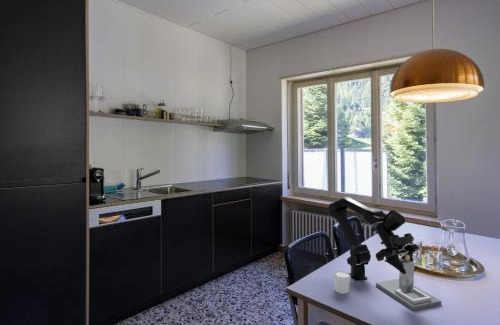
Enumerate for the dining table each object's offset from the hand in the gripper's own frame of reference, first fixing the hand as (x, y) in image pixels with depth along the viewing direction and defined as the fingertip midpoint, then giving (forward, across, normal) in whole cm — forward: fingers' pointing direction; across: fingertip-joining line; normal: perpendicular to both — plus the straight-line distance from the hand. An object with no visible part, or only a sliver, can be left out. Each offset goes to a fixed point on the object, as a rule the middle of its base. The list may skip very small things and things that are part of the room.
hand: (409, 272), depth 111 cm
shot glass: (-4, -16, +24) cm, 29 cm away
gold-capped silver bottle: (+4, 0, +6) cm, 7 cm away
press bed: (+5, +7, +14) cm, 16 cm away
